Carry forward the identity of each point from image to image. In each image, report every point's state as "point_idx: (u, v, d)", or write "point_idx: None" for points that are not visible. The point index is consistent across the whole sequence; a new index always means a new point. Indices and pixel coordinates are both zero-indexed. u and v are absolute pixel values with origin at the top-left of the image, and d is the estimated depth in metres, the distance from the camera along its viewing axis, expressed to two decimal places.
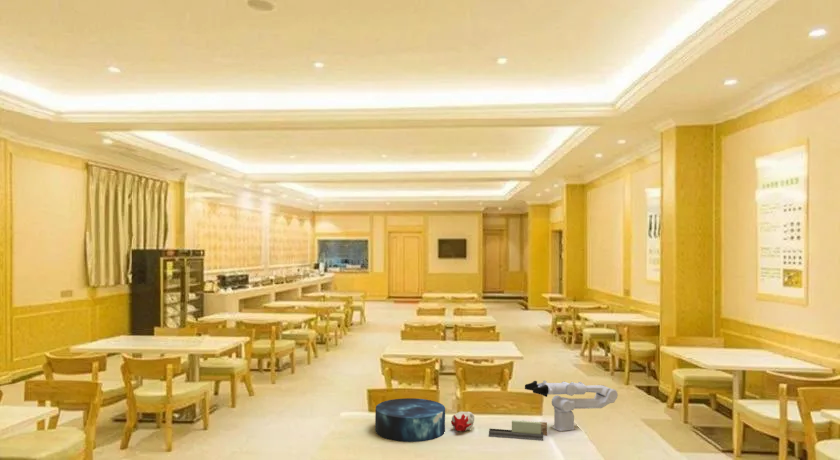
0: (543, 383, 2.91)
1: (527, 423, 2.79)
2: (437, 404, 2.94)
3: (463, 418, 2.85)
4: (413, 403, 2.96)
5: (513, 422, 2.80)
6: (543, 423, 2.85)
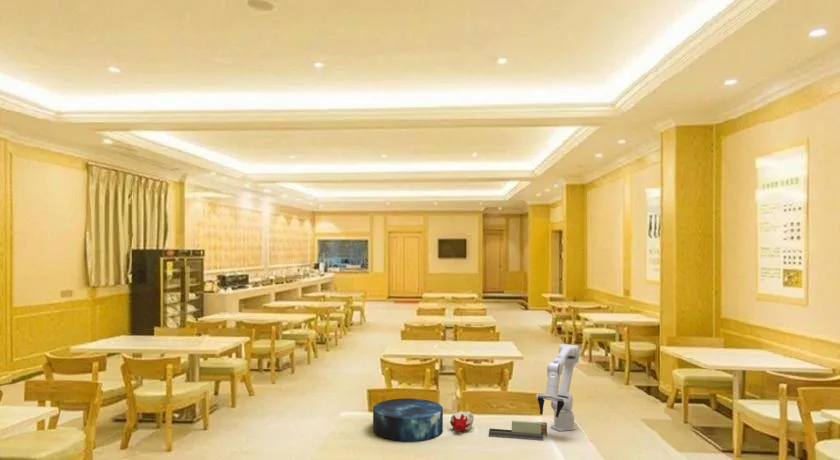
0: (549, 396, 2.78)
1: (527, 423, 2.79)
2: (434, 404, 2.94)
3: (462, 418, 2.85)
4: (411, 403, 2.95)
5: (513, 422, 2.80)
6: (543, 423, 2.85)
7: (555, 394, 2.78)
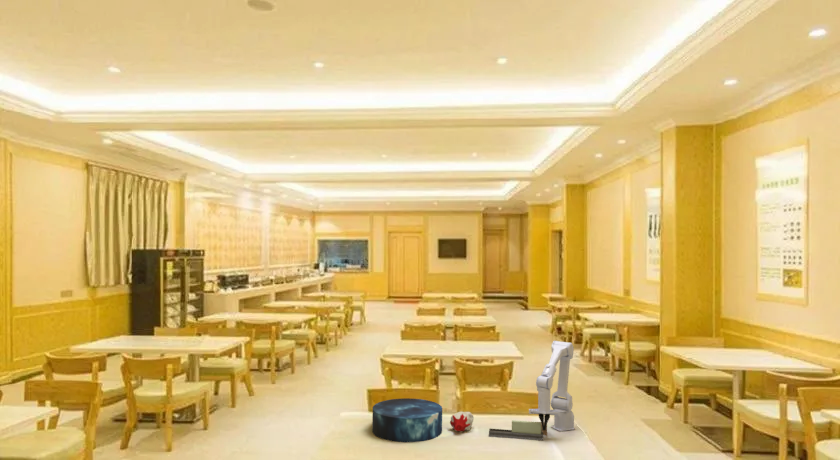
0: None
1: (527, 423, 2.79)
2: (435, 405, 2.93)
3: (462, 418, 2.85)
4: (412, 403, 2.95)
5: (513, 422, 2.80)
6: None
7: (548, 409, 2.75)
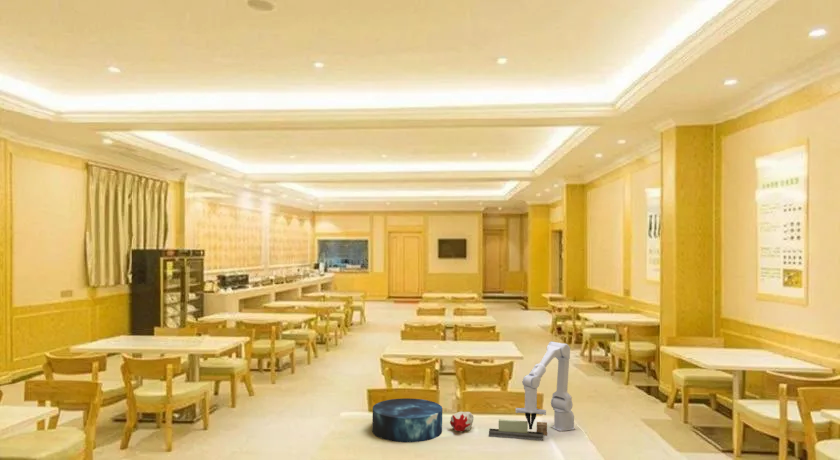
0: (529, 412, 2.76)
1: (514, 422, 2.80)
2: (435, 405, 2.92)
3: (462, 418, 2.85)
4: (412, 403, 2.95)
5: (500, 421, 2.81)
6: (543, 423, 2.85)
7: (535, 408, 2.76)
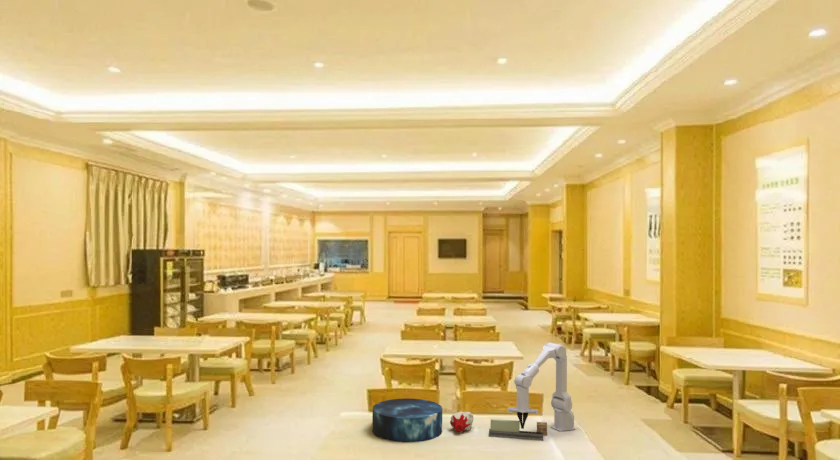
0: None
1: (506, 421, 2.81)
2: (436, 405, 2.92)
3: (462, 418, 2.85)
4: (413, 403, 2.95)
5: (492, 420, 2.82)
6: (543, 423, 2.85)
7: (527, 408, 2.77)
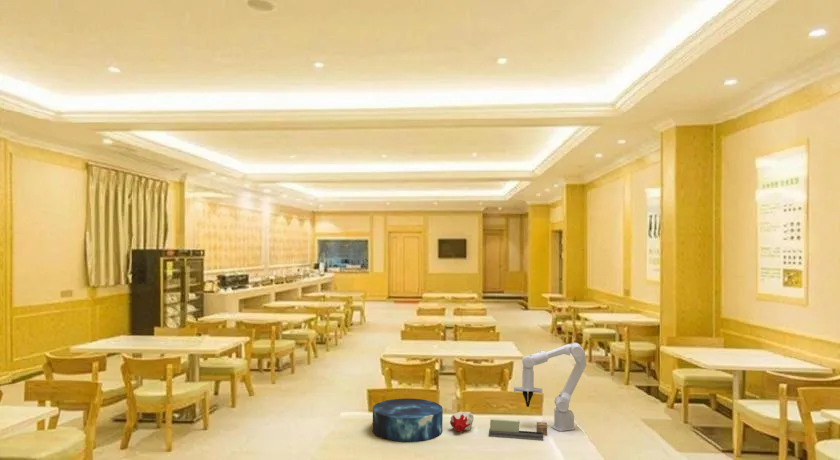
0: (527, 390, 2.94)
1: (505, 421, 2.81)
2: (437, 407, 2.89)
3: (462, 418, 2.85)
4: (416, 404, 2.94)
5: (491, 420, 2.82)
6: (543, 423, 2.85)
7: (532, 387, 2.94)
